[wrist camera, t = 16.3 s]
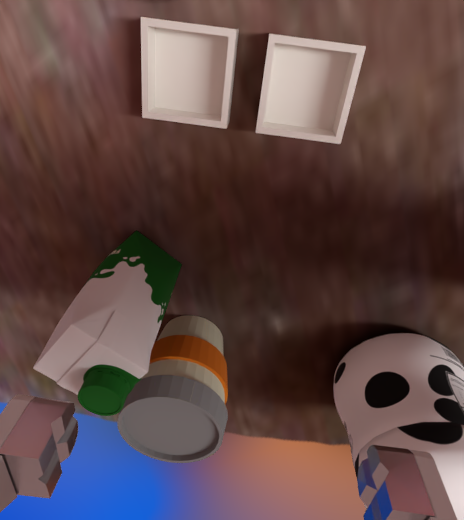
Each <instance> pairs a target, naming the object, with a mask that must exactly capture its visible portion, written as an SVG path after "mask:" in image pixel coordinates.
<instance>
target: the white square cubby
mask: <svg viewBox="0 0 464 520" xmlns="http://www.w3.org/2000/svg"><path fill="white" fill-rule="evenodd" d="M238 33H239V29H234V28H226V27H218V26H211V25H203V24H196V23H188V22H180V21H173V20H165V19H157V18H149V17H141V71H142V118H150V119H157V120H165V121H172V122H179V123H187V124H194V125H202V126H209V127H217V128H224V129H227V127H228V124H229V121H230V111H231V101H232V91H233V82H234V72H235V62H236V52H237V43H238Z"/></svg>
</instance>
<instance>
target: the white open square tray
mask: <svg viewBox="0 0 464 520" xmlns="http://www.w3.org/2000/svg"><path fill="white" fill-rule="evenodd" d="M365 48H366V46H362V45H356V44H349V43H341V42H333V41H326V40H318V39H310V38H303V37H295V36H287V35H280V34H272V33H269V39H268V46H267V53H266V61H265V68H264V75H263V82H262V89H261V96H260V103H259V111H258V118H257V125H256V133H262V134H269V135H276V136H284V137H291V138H299V139H306V140H314V141H321V142H329V143H336V144H341V140H342V136H343V133H344V129H345V125H346V121H347V117H348V113H349V110H350V106H351V102H352V98H353V94H354V90H355V87H356V83H357V79H358V75H359V71H360V67H361V64H362V60H363V56H364V52H365Z"/></svg>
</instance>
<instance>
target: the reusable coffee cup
mask: <svg viewBox="0 0 464 520" xmlns="http://www.w3.org/2000/svg"><path fill="white" fill-rule="evenodd" d="M227 397H228V386H227V364H226V361H225V358H224V356H223V337H222V334H221V332H220V330H219V329H218V328H217V326H216V325H215V324H213V323H212V322H211V321H209V320H207V319H205V318H202V317H199V316H193V315H185V316H179V317H176V318H174V319H172V320H170V321H169V322H168V323H167V324H166V326H165V327H164V329H163V331H162V333H161V334H160V336H159V338H158V340H157V341H156V342H155V343H154V345H153V348H152V351H151V356H150V362H149V369H148V372H147V373H146V374H145V375H144V376H143V377H142V379H141V380H140V381H139V382H138V383H136V384H135V386H134V388H133V389H132V391H131V392H130V393H129V394H128V396H127V398H126V401H125V403H124V406H123V408H122V410H121V411H120V413H119V417H118V429H119V432H120V434H121V436H122V437H123V439H124V440H125V441H126V442H127V443H128V444H129V445H130V446H131V447H133V448H134V449H135V450H137V451H139V452H140V453H142V454H144V455H146V456H149V457H151V458H154V459H158V460H161V461H166V462H174V463H188V462H195V461H200V460H202V459H205V458H207V457H209V456H211V455H213V454H214V453H215V452H216V451H217V450H218V449H219V447H220V446H221V444H222V440H223V435H224V431H225V427H226V422H227V418H228V414H227V408H226V406H225V404H226V402H227Z"/></svg>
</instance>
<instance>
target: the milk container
mask: <svg viewBox="0 0 464 520" xmlns="http://www.w3.org/2000/svg"><path fill="white" fill-rule="evenodd" d="M333 389H334V400H335V405H336V408H337V411H338V414H339V416H340V418H341V420H342V422H343V424H344V426H345V428H346V430H347V432H348V436H349V441H350V447H351V453H352V459H353V465H354V468H355V472H356V476H357V477H358V468H359V466H360V464H361V462H362V461H363V460H365V459H367V458H368V456H367V450H368V448H369V446H371V445H379V446H388V447H396V448H404V449H408V450H415V451H423V452H428V453H430V454H431V455H432V457H433V458H434V461H435V463H436V466H437V469H438V471H439V474H440V476H441V479H442V481H443V484H444V487H445V489H446V492H447V494H448V497H449V499H450V502H451V505H452V507H453V510H454V512H455V515H456V517H457V520H464V366H463V364H462V363H461V362H460V360H459V359H458V358H457V357H456V356H455V355H454V354H453V353H452V351H451V350H450V349H448V348H447V347H446V346H445V345H443V344H442V343H440V342H438V341H436V340H434V339H432V338H430V337H427V336H424V335H420V334H415V333H388V334H383V335H379V336H376V337H372V338H369V339H367V340H365V341H363V342H361V343H360V344H358V345H356V346H354V347H353V348H352V349H350V350H349V351H348V352H347V353H346V354H345V356H344V357H343V358H342V359H341V361H340V362H339V364H338V366H337V368H336V371H335V375H334V386H333ZM364 505H365V504H364ZM365 507H366V509H367V506H366V505H365Z"/></svg>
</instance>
